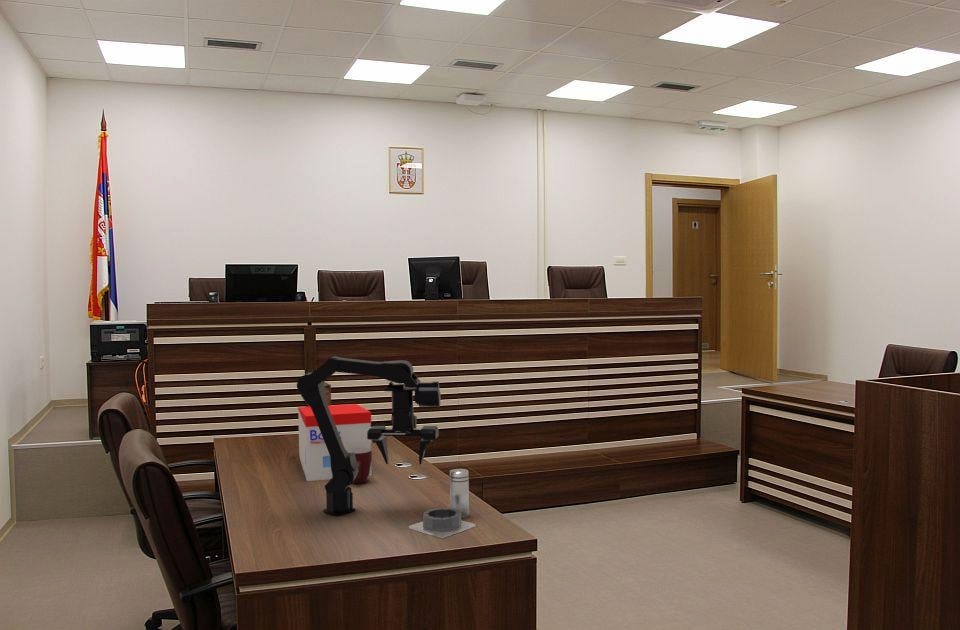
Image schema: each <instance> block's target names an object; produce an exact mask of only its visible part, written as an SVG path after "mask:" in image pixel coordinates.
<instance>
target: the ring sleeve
mask: <svg viewBox="0 0 960 630" xmlns="http://www.w3.org/2000/svg"><path fill="white" fill-rule="evenodd" d="M475 527H476V523H473V522H468V521H465V520H463V519H462V518H461V512H460V511H459V510H456V509H452V508H450V507H438V508H436V507H435V508H431V509H427V510H425V511H424V512H423V513H422V521H420V522H417V523H414V524H411V525H408V529H410V530H413V531H416V532H419V533H422V534H426V535H429V536H432V537H435V538H437V539H445V538H448V537H452V536H453V535H456V534H459V533H461V532H464V531H468V530H470V529H473V528H475Z"/></svg>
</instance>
